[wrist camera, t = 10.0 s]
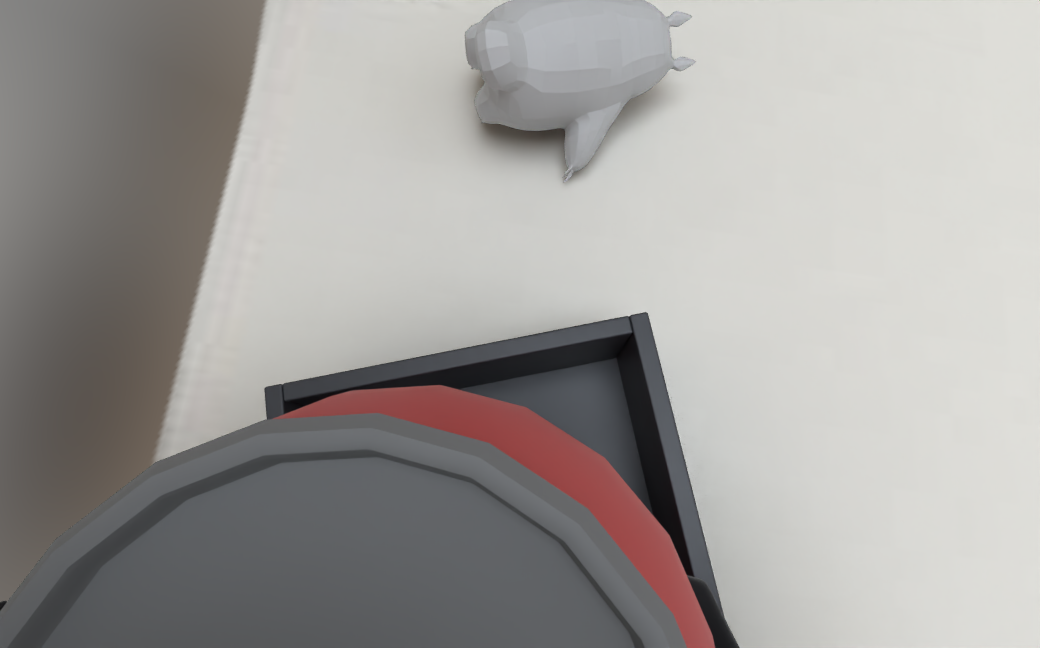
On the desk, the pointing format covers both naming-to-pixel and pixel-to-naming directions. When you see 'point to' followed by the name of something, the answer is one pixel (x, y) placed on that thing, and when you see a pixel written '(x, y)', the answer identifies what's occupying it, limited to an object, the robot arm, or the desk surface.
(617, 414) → the dark square open box
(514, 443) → the beer can
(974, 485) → the desk surface
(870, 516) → the desk surface
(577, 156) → the figurine
